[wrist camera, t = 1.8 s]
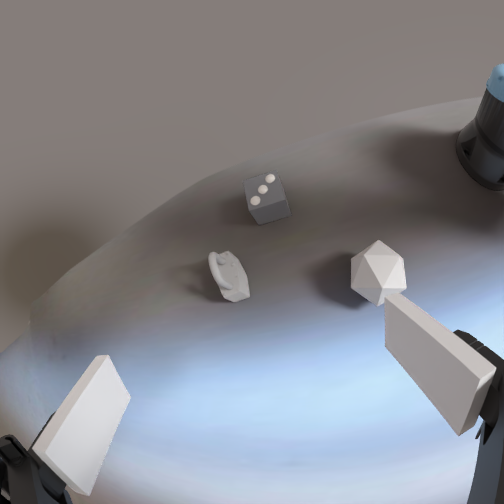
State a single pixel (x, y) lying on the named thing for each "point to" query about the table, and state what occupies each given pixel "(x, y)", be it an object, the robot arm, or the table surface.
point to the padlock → (229, 276)
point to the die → (377, 273)
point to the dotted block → (266, 198)
